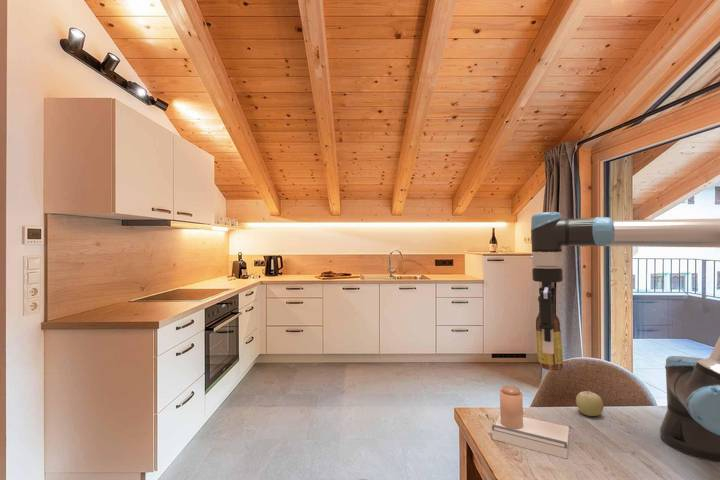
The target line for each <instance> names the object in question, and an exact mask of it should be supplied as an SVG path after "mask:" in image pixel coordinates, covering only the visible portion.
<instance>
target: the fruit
mask: <svg viewBox="0 0 720 480" xmlns="http://www.w3.org/2000/svg"><path fill="white" fill-rule="evenodd" d="M575 403H576V407H577V408H578V410H579V412H581V413H582V414H583V415H584V416H587V417H597V416H599V415H601V414H602V413H603V410H604V401H603V399H602V397H601V396H600V395H599V394H597V393H596V392H593V391H591V390H590V389H588V391H586V390H585V391H580V392H579V393H577V395H576V398H575Z"/></svg>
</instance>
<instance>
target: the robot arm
mask: <svg viewBox="0 0 720 480" xmlns="http://www.w3.org/2000/svg"><path fill="white" fill-rule="evenodd" d="M530 221H531V222H530V223H531V225H530V226H531V227H530V235H531V236H530V237H531V239H530V241H531V252H532V253H531V255H530V256H529V259H531V260H532V261H531V262H532V264H531V265H532V266H533V268H532V271H531V272H532V273H531V274H532V281H534V282H538V283H539V282H541V287H540V288H538V289H539V291H538V293H539V296H540V303H541V326H539V329H542V350H543V353H549V354H554V335H553V326H552V305H554V310H555V311H556V299H557V298H556V294H557V288H556V287H554V284H553V283H562V282H563V276H564V275H563V269H562V268H561V267H563V252H562V251H563V250H562V247H569V246H570V247H573V246H574V247H639V248H641V247H649V248H650V247H651V248H652V247H656V248H657V247H658V248H660V247H661V248H662V247H664V248H665V247H666V248H668V247H669V248H720V218H686V219H684V218H682V219H679V218H678V219H675V218H674V219H636V220H632V219H631V220H630V219H629V220H625V219H624V220H613V219H612V217H609V216H608V217H607V216H604V217H600V216H596V217H584V218H580V217H579V218H562V215H561V213H560V212H558V211H550V212H549V211H546V212H543V211H542V212H536V213H534V214H533V215H532V216H531V219H530ZM551 300H552V301H551ZM554 300H555V301H554ZM545 323H548V324H545ZM664 368H665V378H666V379H665V380H666V381H665V382H666V402H667V404H666V405H667V411H666V413H665V415H664V417H663V420H662V422H661V424H660V427H659V428H660V429H659V435H660V437H659V438H661V440H662V442H664V444H666V445H667V446H669V447H671V448H673V449H674V450H676V451H678V452H681V453H683V454H686V455H689V456H692V457H695V458H698V459H702V460H705V461H706V460H707V461H712V462H719V463H720V336H719V338H718V339H717V341H716V343H715V345H714V348H713V349H712V352H711V353H710V355H709V357H706V358H700V357H693V356H683V355H671V356H668V357H667V358H666V359H665V365H664Z"/></svg>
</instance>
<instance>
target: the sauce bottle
mask: <svg viewBox="0 0 720 480" xmlns="http://www.w3.org/2000/svg"><path fill="white" fill-rule="evenodd" d="M537 301H538V308H539V309H538V311H539V312H538V314H537V317H536V319H535V335H536V337H535V339H536V350H537V361H538V365H539V367H540V368H541V369H545V370H548V371H549V370H550V371H560V370H562V369H563V368H564V365H563V363H564V360H563V359H564V357H563V356H564V355H563V345H562V343H563V342H562V331H561V323H560V322H561V321H560V318H559V317H558V315H557V313H556V309H555V310H554V305H552V326H553V335H554V354H549V353H543V350H542V329H539V326H541V303H540V295H539V296H538V297H537ZM551 301H552V300H551ZM554 301H555V302H556V300H554ZM545 324H548V323H545Z"/></svg>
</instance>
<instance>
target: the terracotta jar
mask: <svg viewBox="0 0 720 480" xmlns="http://www.w3.org/2000/svg"><path fill="white" fill-rule="evenodd" d="M523 405H524V404H523V393H522V391H521V390H520V388H519V387H517V386H514V385H504V386H502V387H501V388H500V390H499V410H500V414H499V416H500V417H501V424H502V425H503V426H505V427H507V428H511V429H521V428H523V417H524V408H523V407H524V406H523Z"/></svg>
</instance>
